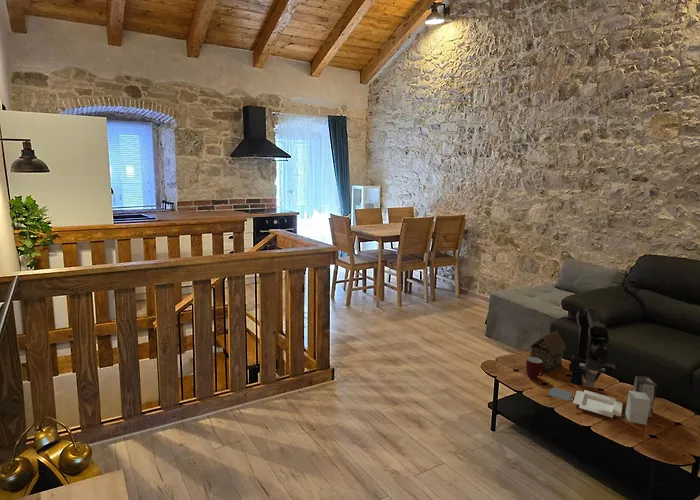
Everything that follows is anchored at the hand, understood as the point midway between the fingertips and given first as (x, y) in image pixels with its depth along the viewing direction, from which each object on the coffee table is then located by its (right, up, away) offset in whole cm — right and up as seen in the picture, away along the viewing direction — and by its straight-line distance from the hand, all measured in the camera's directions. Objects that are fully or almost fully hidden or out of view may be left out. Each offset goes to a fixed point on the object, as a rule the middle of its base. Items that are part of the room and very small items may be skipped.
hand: (589, 380), depth 227 cm
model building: (-3, -4, +44) cm, 44 cm away
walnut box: (0, -2, 0) cm, 2 cm away
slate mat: (-10, -10, +10) cm, 17 cm away
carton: (+3, -13, -1) cm, 13 cm away
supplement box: (+15, -16, -11) cm, 24 cm away
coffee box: (+23, -14, -3) cm, 27 cm away
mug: (-16, -6, +28) cm, 33 cm away
